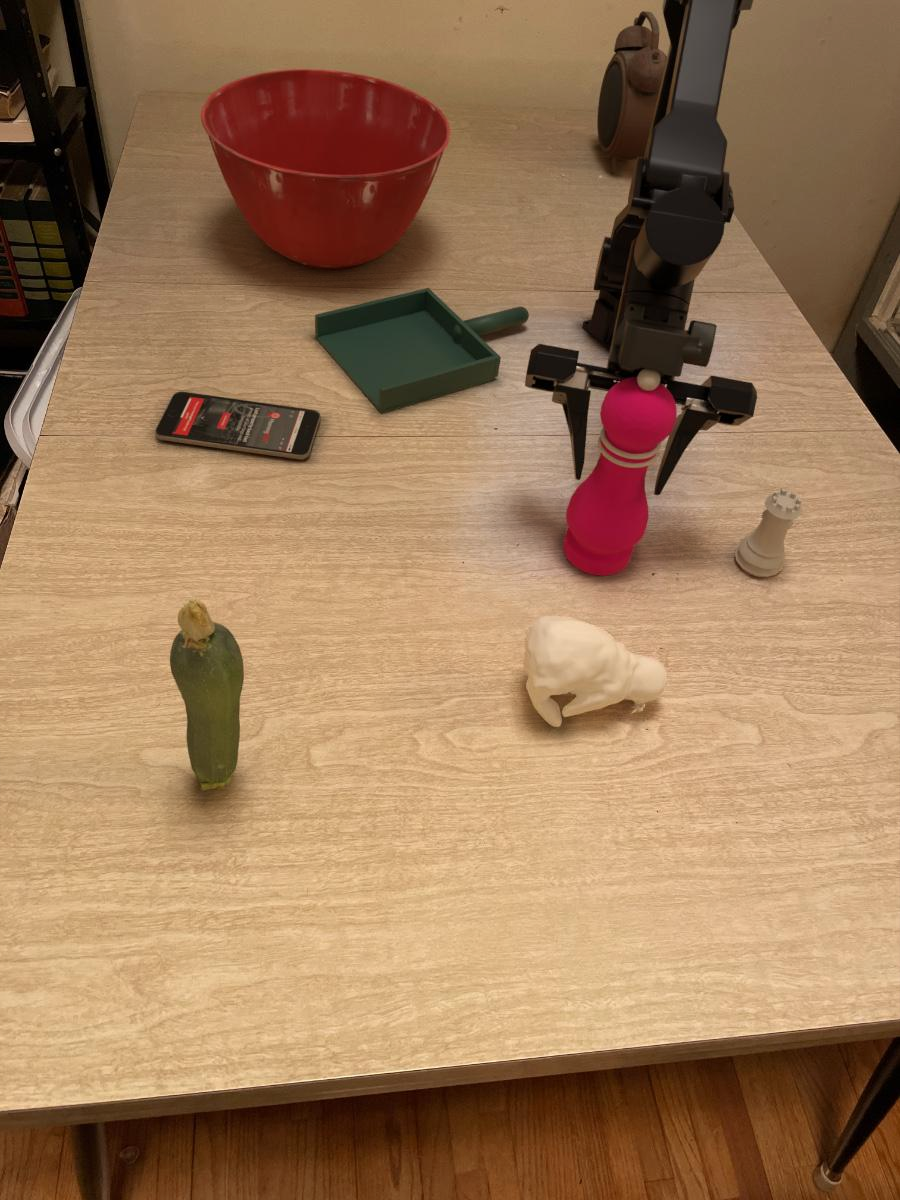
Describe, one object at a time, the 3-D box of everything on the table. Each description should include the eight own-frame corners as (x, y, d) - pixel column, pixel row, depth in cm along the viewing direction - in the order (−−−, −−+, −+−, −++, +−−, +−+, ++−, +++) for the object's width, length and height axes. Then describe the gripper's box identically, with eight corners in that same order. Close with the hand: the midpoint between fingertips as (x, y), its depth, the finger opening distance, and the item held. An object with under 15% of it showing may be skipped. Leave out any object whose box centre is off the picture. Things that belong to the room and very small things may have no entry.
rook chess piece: (781, 584, 88) (814, 520, 82) (733, 574, 88) (762, 510, 83) (780, 551, 91) (811, 487, 85) (733, 541, 91) (761, 477, 86)
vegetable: (195, 750, 71) (161, 560, 56) (255, 749, 71) (237, 560, 56) (189, 803, 68) (152, 617, 53) (252, 802, 68) (232, 617, 53)
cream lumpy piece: (530, 594, 72) (680, 606, 74) (504, 664, 78) (643, 673, 81) (541, 660, 68) (699, 671, 70) (513, 729, 74) (659, 736, 76)
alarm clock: (583, 140, 151) (611, -5, 136) (628, 142, 152) (660, -1, 137) (603, 182, 141) (635, 32, 126) (650, 184, 142) (688, 36, 127)
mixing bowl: (483, 270, 121) (499, 146, 109) (279, 325, 108) (273, 191, 97) (367, 176, 135) (370, 57, 124) (175, 214, 123) (159, 86, 112)
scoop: (381, 413, 99) (382, 390, 97) (314, 337, 108) (314, 314, 105) (562, 360, 109) (567, 338, 107) (489, 294, 117) (492, 272, 115)
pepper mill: (584, 589, 85) (640, 406, 70) (542, 536, 89) (587, 352, 75) (650, 567, 88) (717, 386, 73) (606, 516, 92) (661, 335, 77)
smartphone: (175, 390, 97) (321, 410, 97) (176, 396, 98) (321, 416, 98) (152, 434, 92) (307, 456, 92) (153, 440, 93) (307, 462, 93)
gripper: (549, 252, 73) (508, 455, 73) (795, 296, 72) (751, 501, 73) (543, 293, 84) (508, 470, 85) (756, 332, 83) (719, 510, 84)
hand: (617, 487), depth 81 cm, fingers open, 6 cm apart
